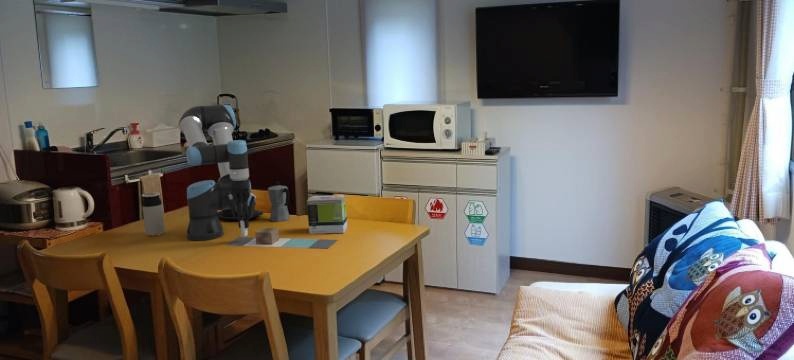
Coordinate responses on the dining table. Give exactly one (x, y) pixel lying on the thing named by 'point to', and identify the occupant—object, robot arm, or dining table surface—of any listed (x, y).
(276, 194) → the coffeepot
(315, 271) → the dining table surface
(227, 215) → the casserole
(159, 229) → the travel mug
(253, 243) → the tile
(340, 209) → the tea box
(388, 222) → the dining table surface
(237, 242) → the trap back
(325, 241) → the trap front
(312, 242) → the pad
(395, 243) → the dining table surface
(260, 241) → the walnut block
